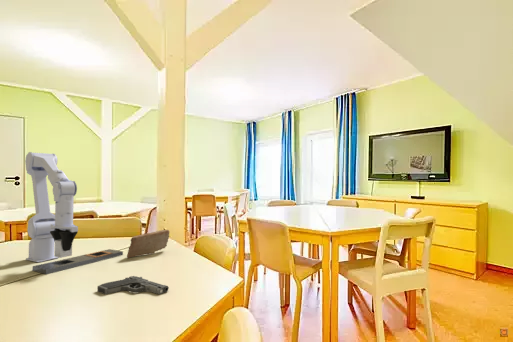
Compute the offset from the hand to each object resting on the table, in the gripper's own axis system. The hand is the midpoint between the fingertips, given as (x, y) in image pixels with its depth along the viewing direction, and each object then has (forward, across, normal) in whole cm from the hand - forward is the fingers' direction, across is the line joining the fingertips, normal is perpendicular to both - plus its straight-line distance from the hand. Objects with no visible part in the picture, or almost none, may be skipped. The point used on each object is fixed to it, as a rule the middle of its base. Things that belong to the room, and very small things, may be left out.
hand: (63, 249), depth 110 cm
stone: (+6, +14, +28) cm, 32 cm away
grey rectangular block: (+2, 0, 0) cm, 2 cm away
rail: (+6, 0, +7) cm, 9 cm away
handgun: (+7, +44, -4) cm, 45 cm away
